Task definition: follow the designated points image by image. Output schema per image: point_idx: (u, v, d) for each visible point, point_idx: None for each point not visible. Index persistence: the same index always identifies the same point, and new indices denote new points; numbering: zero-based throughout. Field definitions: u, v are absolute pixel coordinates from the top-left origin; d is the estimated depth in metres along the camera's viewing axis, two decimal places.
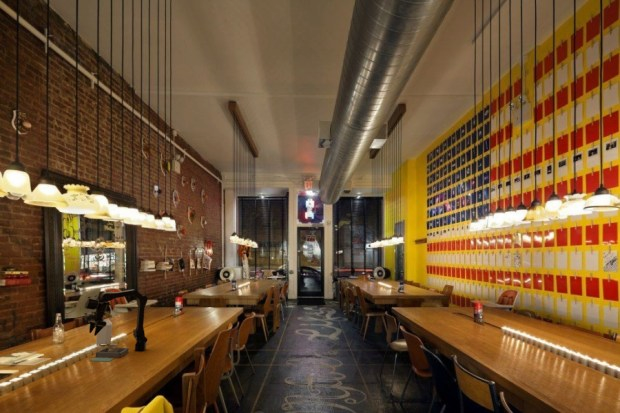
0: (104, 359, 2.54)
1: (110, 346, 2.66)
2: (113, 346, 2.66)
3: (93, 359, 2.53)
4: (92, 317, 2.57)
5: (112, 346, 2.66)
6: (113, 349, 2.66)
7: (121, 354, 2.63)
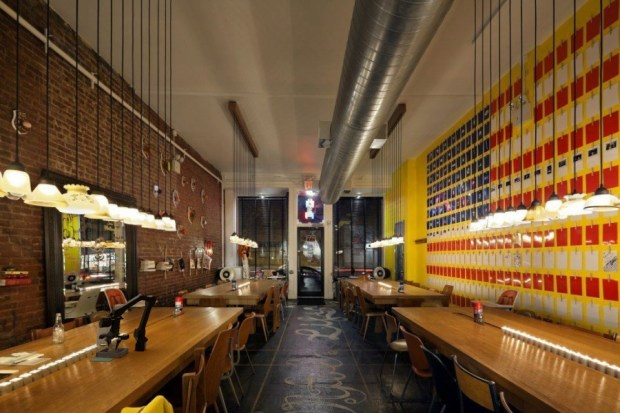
0: (104, 359, 2.54)
1: (110, 346, 2.66)
2: (113, 346, 2.66)
3: (93, 359, 2.53)
4: (117, 334, 2.64)
5: (112, 346, 2.66)
6: (113, 349, 2.66)
7: (121, 354, 2.63)
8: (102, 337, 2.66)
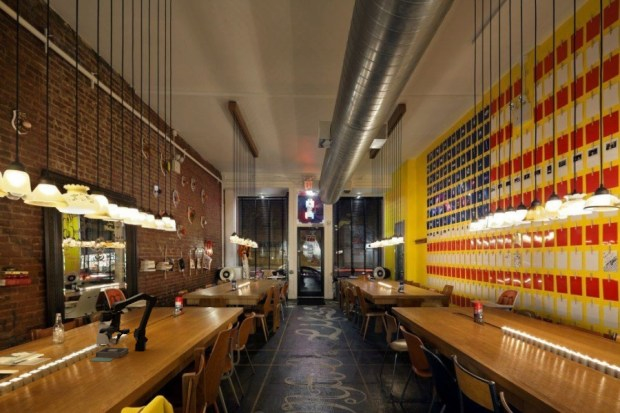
0: (104, 359, 2.54)
1: (110, 340, 2.67)
2: (113, 340, 2.67)
3: (93, 359, 2.53)
4: (118, 329, 2.65)
5: (112, 340, 2.67)
6: (113, 343, 2.66)
7: (121, 354, 2.63)
8: (103, 331, 2.66)
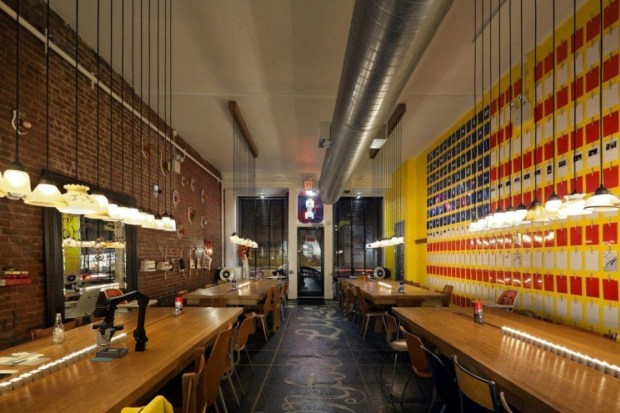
0: (104, 359, 2.54)
1: (104, 337, 2.58)
2: (107, 337, 2.58)
3: (93, 359, 2.53)
4: (111, 325, 2.56)
5: (106, 337, 2.58)
6: (107, 340, 2.58)
7: (121, 354, 2.63)
8: (96, 327, 2.58)
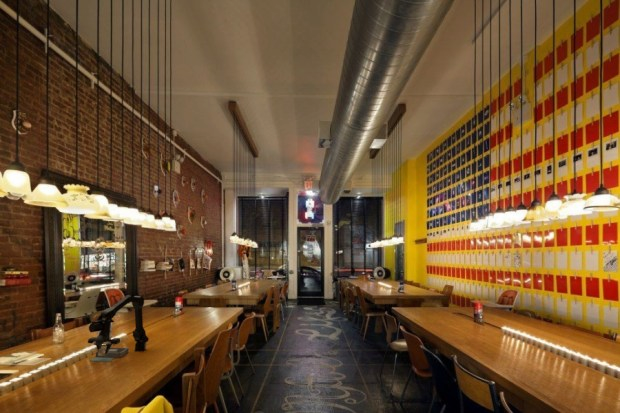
0: (104, 359, 2.54)
1: (100, 350, 2.53)
2: (103, 350, 2.53)
3: (93, 359, 2.53)
4: (107, 338, 2.51)
5: (102, 350, 2.53)
6: (103, 354, 2.53)
7: (121, 354, 2.63)
8: (91, 341, 2.53)
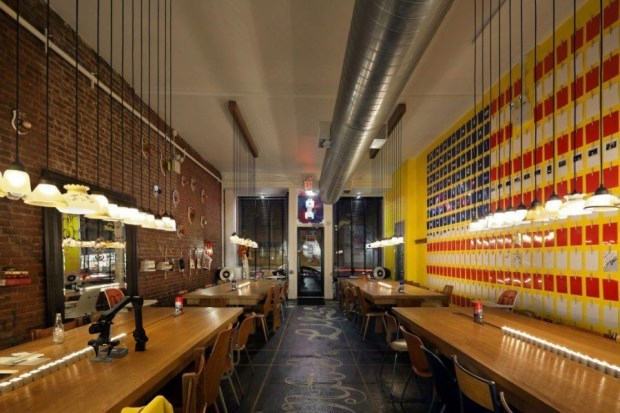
0: None
1: (99, 355, 2.53)
2: (102, 355, 2.53)
3: (93, 359, 2.53)
4: (107, 341, 2.51)
5: (101, 355, 2.53)
6: (102, 358, 2.53)
7: (121, 354, 2.63)
8: (91, 343, 2.52)
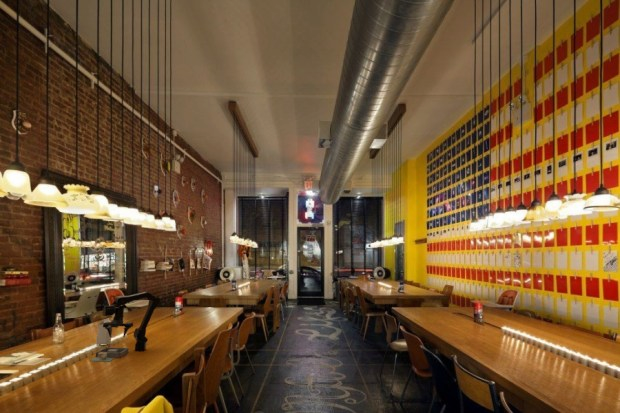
0: None
1: (99, 355, 2.53)
2: (102, 355, 2.53)
3: (93, 359, 2.53)
4: (121, 322, 2.67)
5: (101, 355, 2.53)
6: (102, 358, 2.53)
7: (121, 354, 2.63)
8: (106, 325, 2.68)
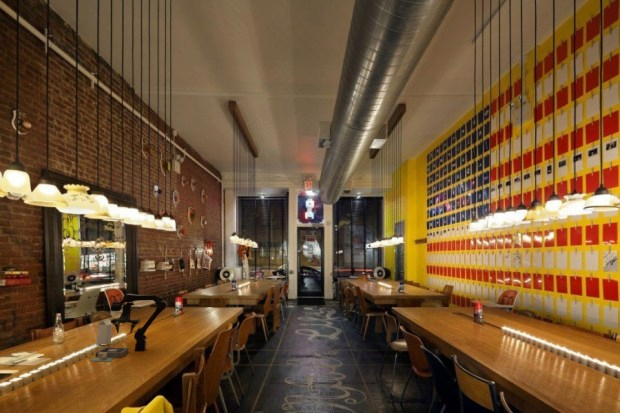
0: None
1: (99, 355, 2.53)
2: (102, 355, 2.53)
3: (93, 359, 2.53)
4: (128, 319, 2.77)
5: (101, 355, 2.53)
6: (102, 358, 2.53)
7: (121, 354, 2.63)
8: (114, 321, 2.78)
